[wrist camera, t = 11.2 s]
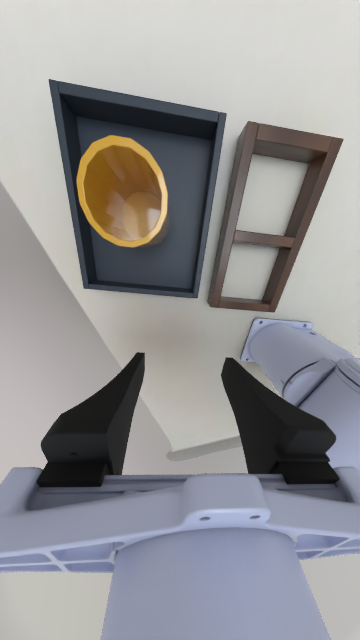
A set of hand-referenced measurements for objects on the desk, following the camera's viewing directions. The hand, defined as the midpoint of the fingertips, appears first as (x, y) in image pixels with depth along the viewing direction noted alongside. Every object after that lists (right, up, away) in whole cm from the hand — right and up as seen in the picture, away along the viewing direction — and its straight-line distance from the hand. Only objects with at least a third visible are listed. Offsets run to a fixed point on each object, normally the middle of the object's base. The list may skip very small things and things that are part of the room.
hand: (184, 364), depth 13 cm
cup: (-4, +15, +3) cm, 16 cm away
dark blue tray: (-4, +15, +4) cm, 16 cm away
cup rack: (+9, +14, +5) cm, 17 cm away
